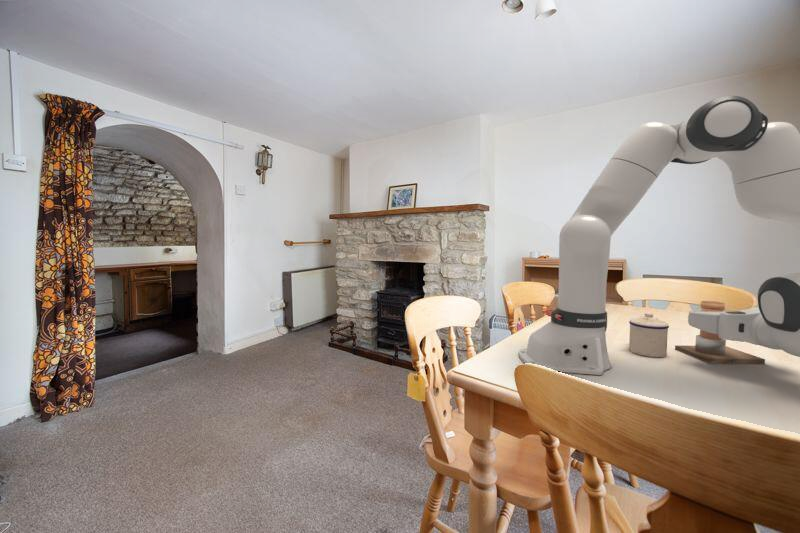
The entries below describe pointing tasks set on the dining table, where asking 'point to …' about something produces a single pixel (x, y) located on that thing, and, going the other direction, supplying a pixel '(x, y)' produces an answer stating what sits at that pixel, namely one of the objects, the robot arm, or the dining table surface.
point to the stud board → (722, 359)
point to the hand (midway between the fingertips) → (709, 313)
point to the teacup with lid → (648, 336)
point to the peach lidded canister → (711, 307)
